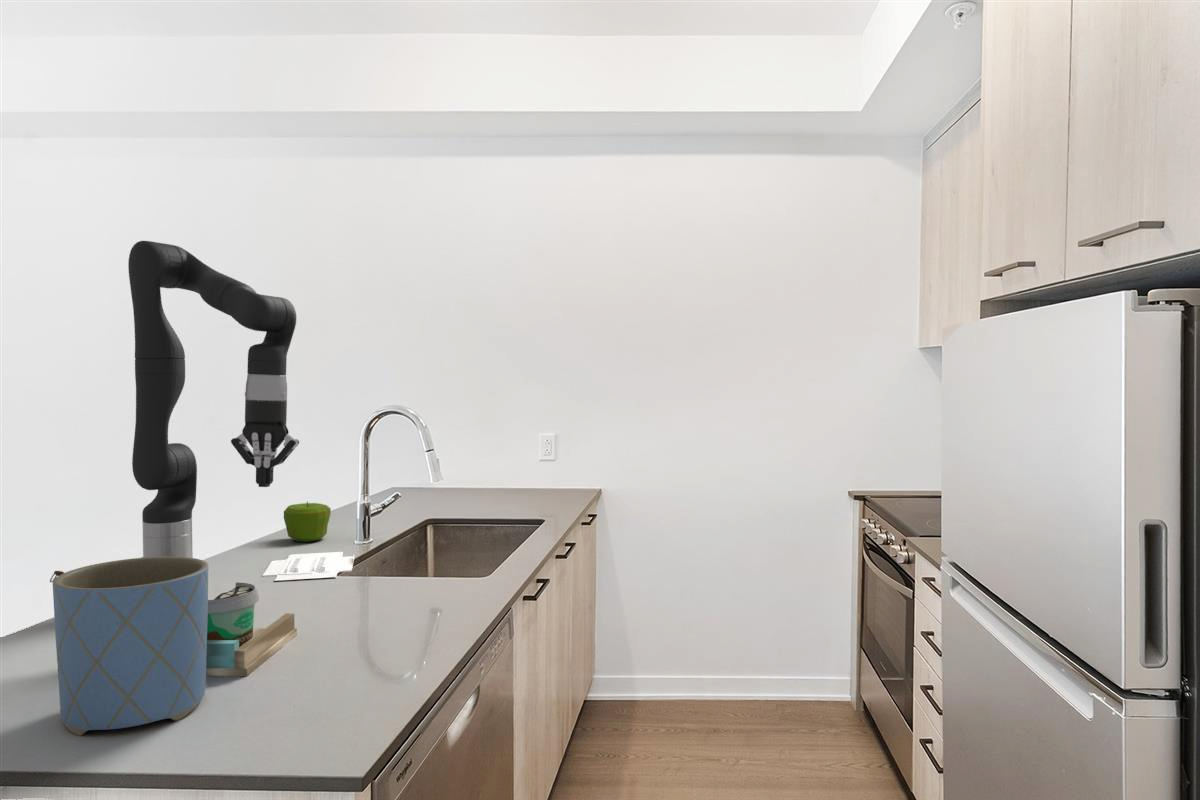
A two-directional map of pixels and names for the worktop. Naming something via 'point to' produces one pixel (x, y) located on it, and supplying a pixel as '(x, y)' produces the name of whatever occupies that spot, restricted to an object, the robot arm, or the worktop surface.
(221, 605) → the food container
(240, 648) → the channel board
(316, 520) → the apple
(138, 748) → the worktop surface
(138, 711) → the planter
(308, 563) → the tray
